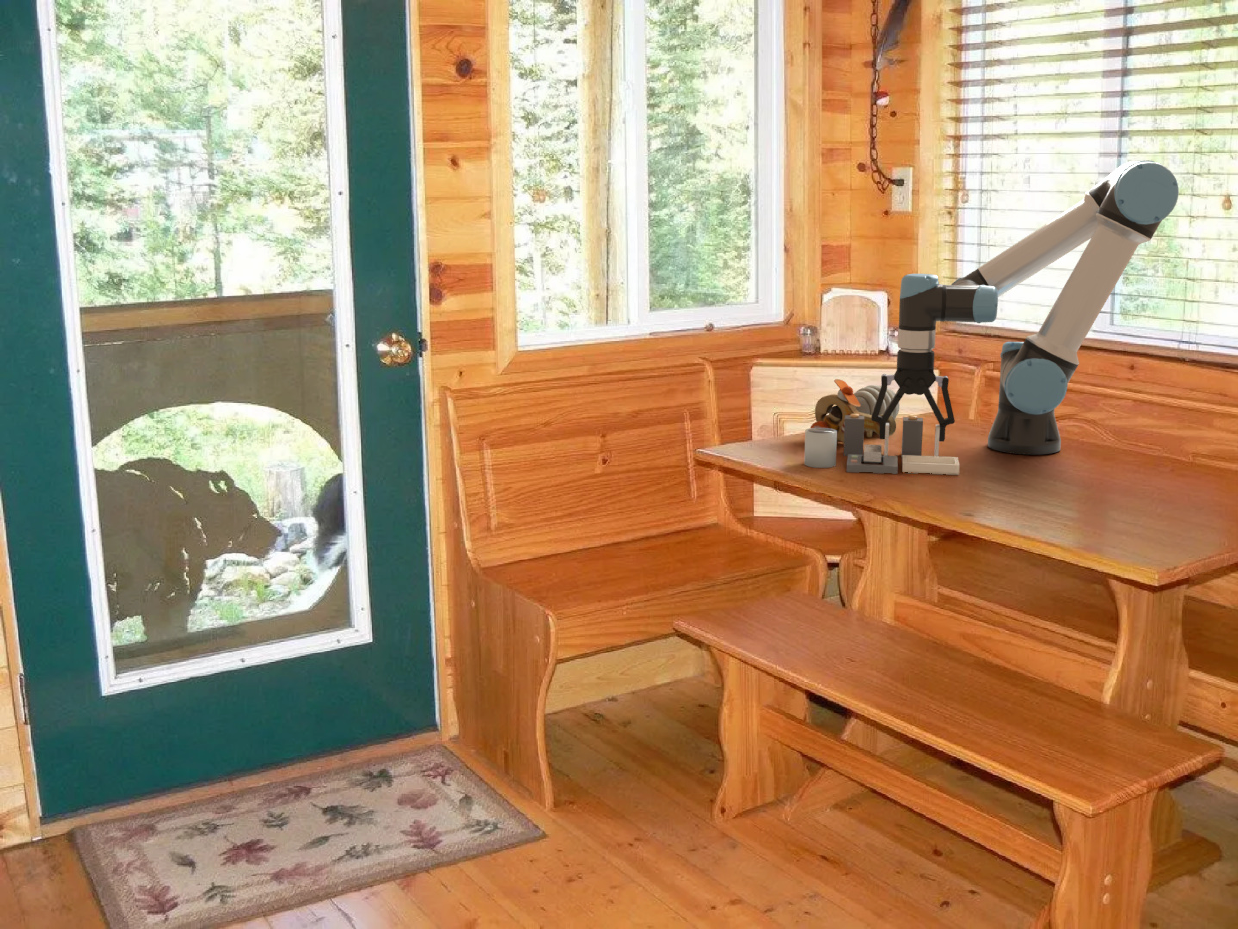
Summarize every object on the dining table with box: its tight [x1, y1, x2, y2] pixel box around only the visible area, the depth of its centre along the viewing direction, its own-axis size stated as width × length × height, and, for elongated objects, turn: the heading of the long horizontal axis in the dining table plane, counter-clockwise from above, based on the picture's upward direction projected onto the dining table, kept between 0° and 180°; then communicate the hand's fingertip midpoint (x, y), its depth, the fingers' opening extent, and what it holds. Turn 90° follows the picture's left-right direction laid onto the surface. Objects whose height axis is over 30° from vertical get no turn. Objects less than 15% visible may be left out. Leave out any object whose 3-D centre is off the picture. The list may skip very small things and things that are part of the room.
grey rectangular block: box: [863, 444, 882, 462], centre depth 286 cm, size 3×7×2 cm, turn 170°
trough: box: [901, 455, 960, 476], centre depth 284 cm, size 11×8×2 cm
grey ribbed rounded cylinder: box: [853, 384, 900, 438], centre depth 318 cm, size 11×17×11 cm, turn 135°
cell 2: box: [900, 415, 924, 456], centre depth 295 cm, size 4×4×9 cm
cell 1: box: [843, 414, 865, 457], centre depth 298 cm, size 4×4×9 cm
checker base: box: [846, 454, 899, 475], centre depth 286 cm, size 10×10×2 cm
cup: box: [803, 428, 838, 469], centre depth 288 cm, size 6×6×7 cm
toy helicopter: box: [810, 378, 897, 444], centre depth 305 cm, size 8×21×14 cm, turn 43°
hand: (911, 455), depth 296 cm, fingers open, 10 cm apart
